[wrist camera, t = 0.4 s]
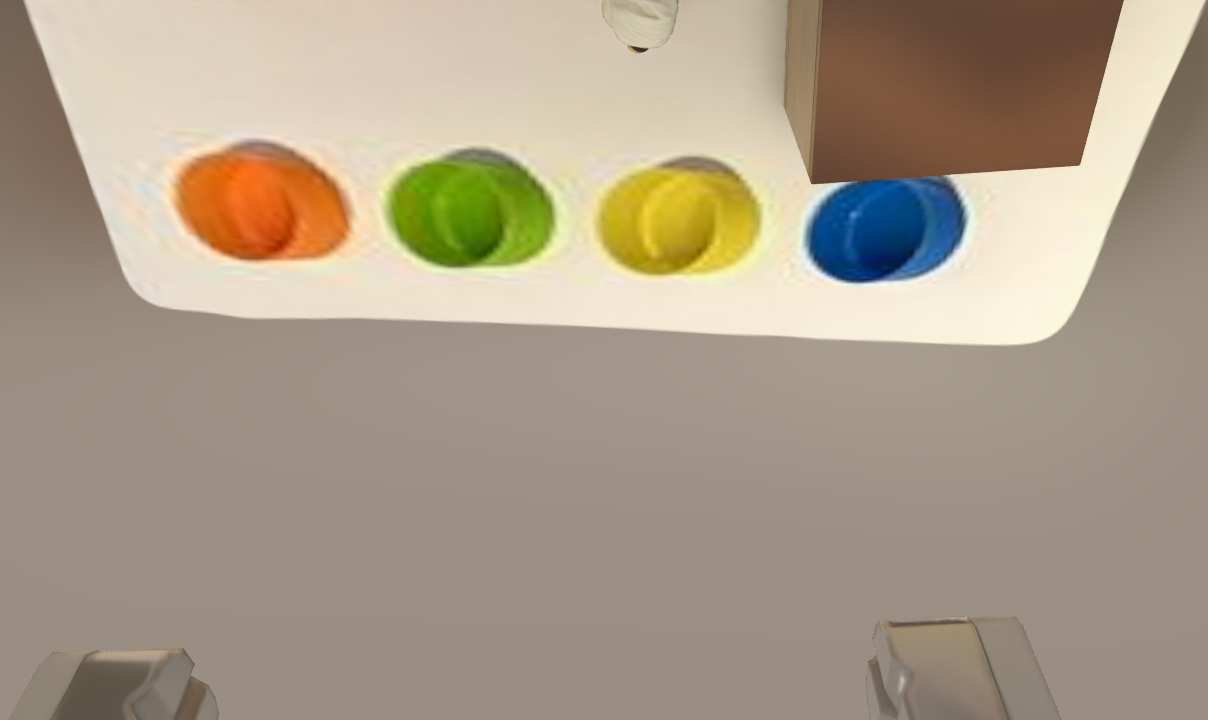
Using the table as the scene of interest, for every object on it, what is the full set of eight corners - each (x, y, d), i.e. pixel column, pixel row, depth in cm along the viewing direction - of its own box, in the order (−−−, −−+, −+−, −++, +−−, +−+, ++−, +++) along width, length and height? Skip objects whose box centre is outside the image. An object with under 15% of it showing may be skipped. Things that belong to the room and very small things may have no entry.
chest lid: (832, -199, 36) (858, -179, 33) (1175, -232, 36) (1244, -215, 32) (808, 177, 47) (826, 227, 43) (1074, 158, 46) (1116, 207, 42)
